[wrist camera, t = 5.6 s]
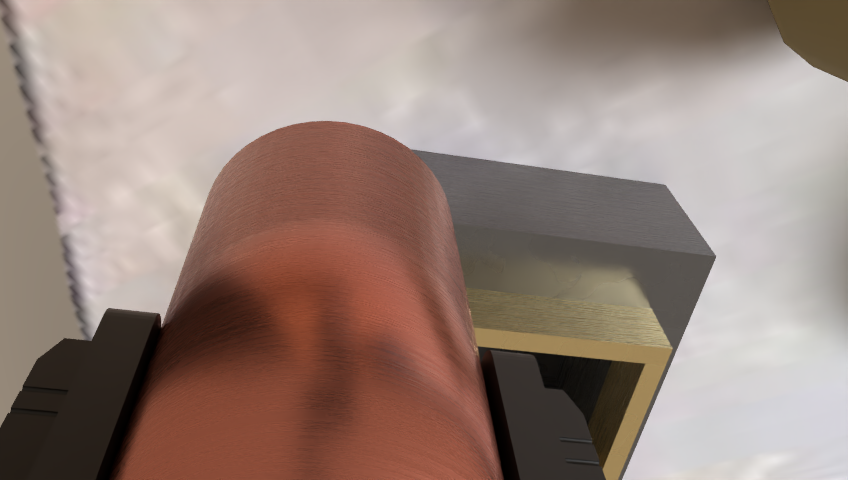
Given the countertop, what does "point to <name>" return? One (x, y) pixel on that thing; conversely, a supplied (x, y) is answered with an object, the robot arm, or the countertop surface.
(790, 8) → the squeeze bottle
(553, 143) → the countertop surface
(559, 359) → the grey drawer box
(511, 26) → the countertop surface
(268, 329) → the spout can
